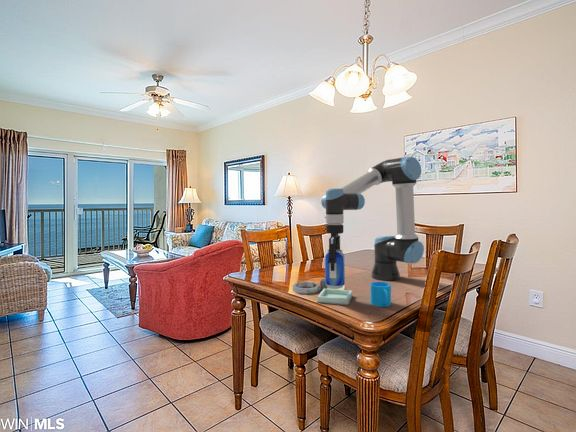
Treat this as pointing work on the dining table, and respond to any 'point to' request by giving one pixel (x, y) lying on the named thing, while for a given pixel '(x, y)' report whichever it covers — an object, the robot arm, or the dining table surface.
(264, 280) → the dining table surface
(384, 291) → the mug
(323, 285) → the dog
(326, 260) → the blue bottle
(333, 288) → the plate
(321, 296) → the tray
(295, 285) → the collar
